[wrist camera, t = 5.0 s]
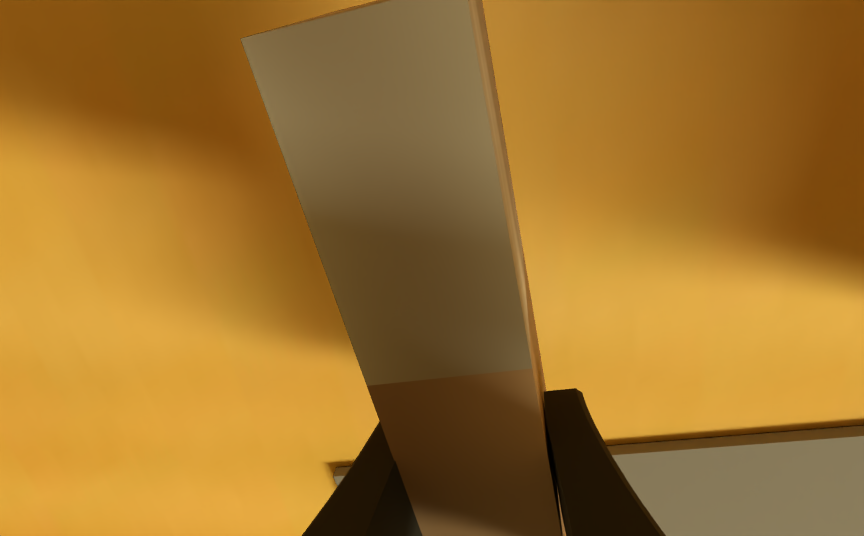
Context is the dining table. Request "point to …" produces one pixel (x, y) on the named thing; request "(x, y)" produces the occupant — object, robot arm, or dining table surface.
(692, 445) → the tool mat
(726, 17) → the dining table surface
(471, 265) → the two-tone flat stick
